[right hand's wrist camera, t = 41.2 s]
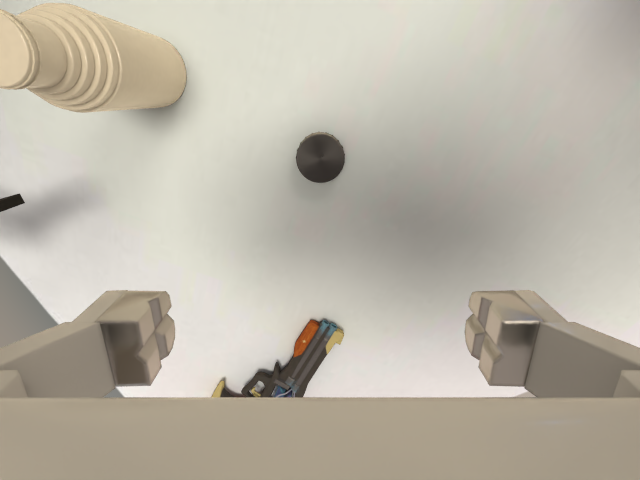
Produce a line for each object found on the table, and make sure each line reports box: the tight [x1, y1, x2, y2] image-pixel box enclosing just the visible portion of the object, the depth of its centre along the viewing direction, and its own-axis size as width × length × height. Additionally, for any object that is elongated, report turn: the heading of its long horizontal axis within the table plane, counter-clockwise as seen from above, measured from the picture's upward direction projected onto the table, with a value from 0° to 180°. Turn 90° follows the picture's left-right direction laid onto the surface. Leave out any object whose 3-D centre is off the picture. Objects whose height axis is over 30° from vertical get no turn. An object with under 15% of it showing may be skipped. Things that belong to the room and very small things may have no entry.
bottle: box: [0, 3, 186, 113], centre depth 26 cm, size 6×6×18 cm
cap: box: [296, 132, 345, 183], centre depth 36 cm, size 5×5×2 cm
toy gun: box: [212, 320, 344, 397], centre depth 46 cm, size 3×19×10 cm
